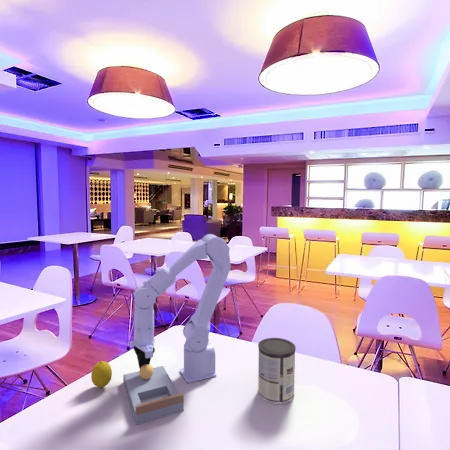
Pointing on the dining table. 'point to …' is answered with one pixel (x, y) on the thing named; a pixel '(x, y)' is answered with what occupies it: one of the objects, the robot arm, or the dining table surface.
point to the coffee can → (276, 370)
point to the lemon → (101, 374)
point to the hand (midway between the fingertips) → (143, 370)
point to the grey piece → (152, 395)
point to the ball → (146, 371)
